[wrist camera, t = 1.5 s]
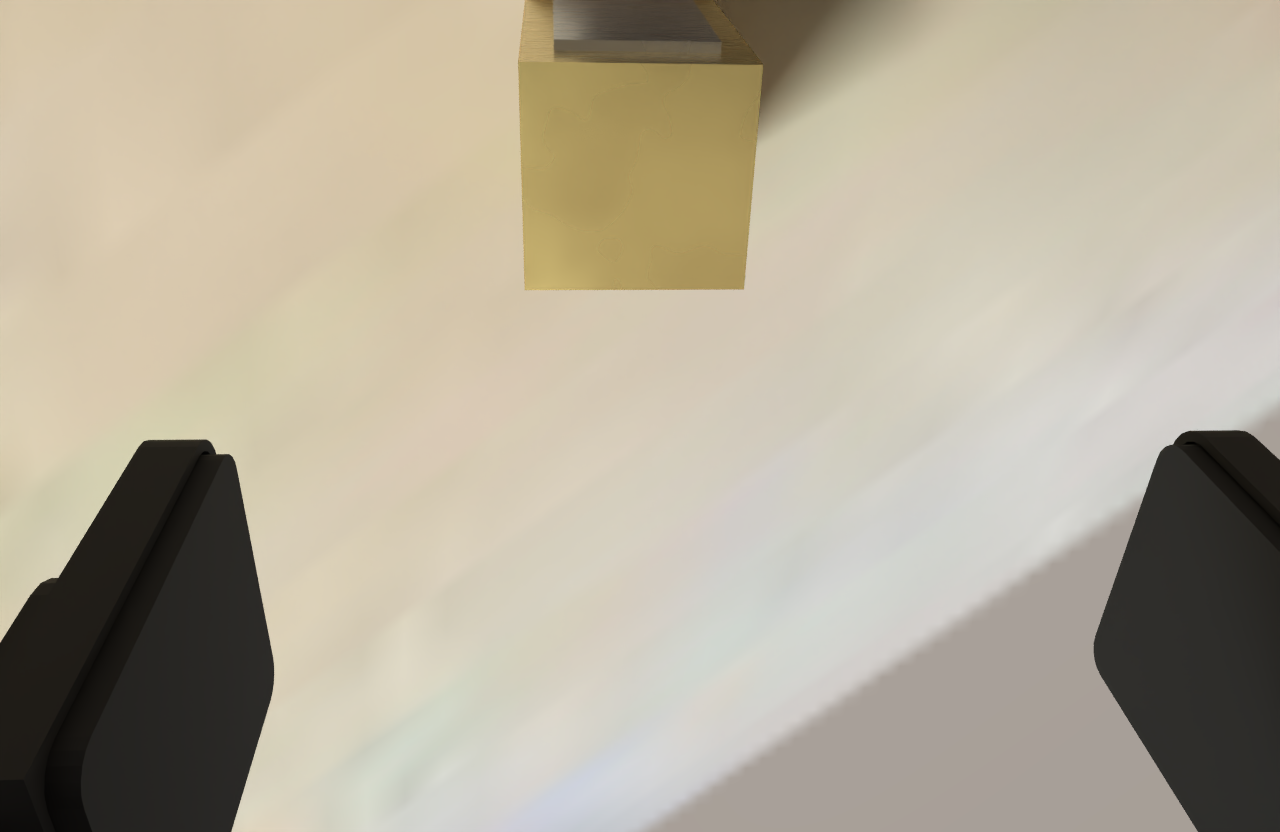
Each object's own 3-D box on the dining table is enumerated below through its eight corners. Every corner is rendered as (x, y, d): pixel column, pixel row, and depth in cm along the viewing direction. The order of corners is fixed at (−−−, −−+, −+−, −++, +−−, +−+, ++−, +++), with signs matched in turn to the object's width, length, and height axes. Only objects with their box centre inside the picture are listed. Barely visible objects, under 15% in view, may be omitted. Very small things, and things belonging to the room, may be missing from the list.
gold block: (525, -13, 25) (518, 50, 19) (713, -10, 25) (764, 54, 19) (530, 187, 27) (524, 298, 21) (701, 188, 28) (743, 298, 22)
